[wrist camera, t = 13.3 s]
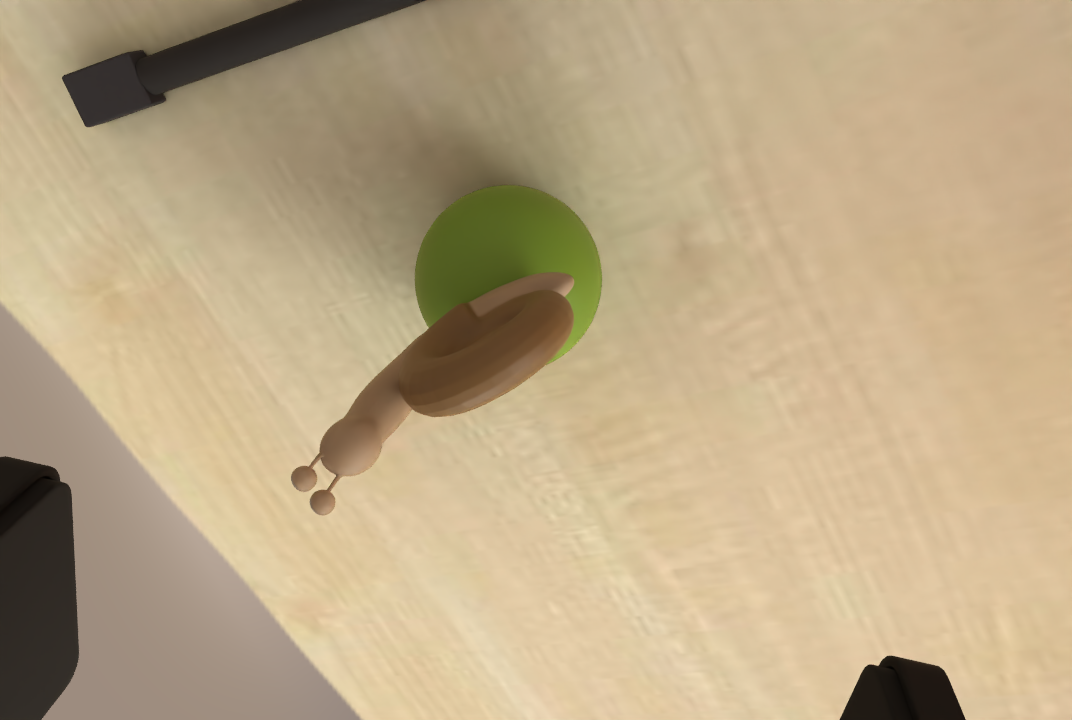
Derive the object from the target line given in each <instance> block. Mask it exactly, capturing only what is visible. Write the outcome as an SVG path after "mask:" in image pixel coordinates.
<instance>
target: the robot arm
mask: <svg viewBox="0 0 1072 720" xmlns="http://www.w3.org/2000/svg"><path fill="white" fill-rule="evenodd" d="M74 560H75V559H74V538H73V517H72V496H71V489H70V487H69V486H68V485H67V484H66V483H63V482H60V477H59V474H58V472H57V470H56V469H55V468H53V467H50V466H46V465H41V464H37V463H33V462H28V461H24V460H20V459H15V458H11V457H6V456H5V457H0V720H41V719H42V718H43V716H44V715H45V714H46V713H47V711H48V710H49V709H50V708H51V706H52V705H53V704H54V702H55V701H56V700H57V699H58V697H59V696H60V695H61V694H62V692H63V691H64V690H65V688H66V687H67V685H68V684H69V682H70V681H71V679H72V677H73V675H74V672H75V669H76V667H77V663H78V658H79V645H78V624H77V605H76V604H77V602H76V580H75V561H74ZM840 720H966V719H965V717H964V715H963V712H962V710H961V707H960V705H959V703H958V700H957V698H956V695H955V693H954V691H953V688H952V686H951V683H950V681H949V679H948V676H947V675H946V673H945V671H944V670H943V669H942V668H940V667H939V666H935V665H931V664H926V663H922V662H917V661H913V660H909V659H904V658H900V657H895V656H887V657H885V658H884V659H883V660H882V661H881V663H880V664H879V666H876V665H868V666H866V667H865V668H864V670H863V672H862V673H861V675H860V678H859V680H858V682H857V684H856V686H855V688H854V690H853V693H852V695H851V697H850V699H849V701H848V703H847V705H846V707H845V710H844V712H843V714H842V716H841V718H840Z"/></svg>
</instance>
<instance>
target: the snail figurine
mask: <svg viewBox="0 0 1072 720" xmlns="http://www.w3.org/2000/svg"><path fill="white" fill-rule="evenodd" d="M601 286H602V272H601V264H600V259H599V255H598V251H597V248H596V245H595V243H594V241H593V238H592V236H591V234H590V233H589V231H588V229H587V228H586V226H585V225H584V223H583V222H582V221H581V220H580V218H579V217H578V216H577V215H576V214H575V213H574V212H573V211H572V210H571V209H570V208H569V207H568V206H566V205H565V204H564V203H562V202H561V201H559V200H558V199H556V198H554V197H553V196H551V195H549V194H547V193H544V192H542V191H539V190H536V189H533V188H529V187H524V186H516V185H500V186H492V187H487V188H483V189H480V190H477V191H474V192H472V193H470V194H467V195H465V196H463V197H462V198H460V199H458V200H457V201H455V202H454V203H453V204H451V205H450V206H449V207H448V208H446V209H445V210H444V211H443V212H442V213H441V214H440V215H439V216H438V218H437V219H436V220H435V221H434V223H433V224H432V225H431V227H430V228H429V230H428V232H427V233H426V235H425V237H424V239H423V242H422V244H421V247H420V250H419V253H418V257H417V261H416V268H415V289H416V296H417V301H418V304H419V308H420V311H421V313H422V316H423V318H424V320H425V322H426V324H427V326H428V327H429V329H428V330H427V331H426V332H425V333H423V334H422V335H420V336H419V337H418V338H417V339H415V340H414V341H413V342H412V343H411V344H410V345H409V346H408V347H407V348H406V349H405V350H404V351H403V352H402V353H401V354H400V355H399V356H398V357H396V358H395V359H394V360H393V361H392V362H391V363H390V364H389V365H388V366H387V367H385V368H384V369H383V370H382V371H381V372H380V373H379V374H378V375H377V376H376V377H375V378H374V379H373V380H372V381H371V382H370V383H369V384H368V385H367V386H366V387H365V388H364V390H363V391H362V392H361V393H360V395H359V396H358V397H357V399H356V400H355V401H354V403H353V405H352V406H351V408H350V410H349V411H348V413H347V414H346V416H345V417H344V418H343V419H341V420H339V421H338V422H336V423H335V424H334V425H332V426H331V427H330V428H329V429H328V430H327V432H326V433H325V435H324V436H323V438H322V441H321V444H320V453H319V454H318V455H317V456H316V458H315V459H314V460H313V462H312V463H311V464H310V466H309V467H308V466H300V467H298V468H296V469H295V470H294V471H293V473H292V475H291V481H292V484H293V485H294V487H295V488H296V489H297V490H299V491H303V492H306V491H309V490H311V489H312V488H313V487H314V486H315V484H316V482H317V475H316V473H315V471H314V470H313V469H312V468H313V466H314V465H315V464H316V462H317V461H318V460H319V459H320V458H321V461H322V463H323V465H324V466H325V468H326V469H327V470H329V471H330V472H332V473H334V474H336V477H335V479H334V480H333V482H332V483H331V485H330V486H329V488H328V489H327V490H319V491H316V492H315V493H314V494H313V495H312V496H311V498H310V506H311V508H312V510H313V511H314V512H315V513H316V514H318V515H327V514H329V513H330V512H331V511H332V510H333V509H334V507H335V498H334V496H333V494H332V493H331V492H330V491H331V490H332V488H333V487H334V485H335V484H336V483H337V481H338V480H339V479H340V478H341V477H343V476H354V475H358V474H360V473H362V472H364V471H366V470H367V469H369V468H370V467H371V466H372V465H373V464H374V463H375V461H376V460H377V458H378V456H379V454H380V452H381V448H382V443H383V442H384V441H385V440H386V439H387V438H388V437H389V436H390V435H391V434H392V433H393V432H394V431H395V430H396V429H397V428H398V427H399V425H400V424H401V423H402V422H403V421H404V420H405V418H406V417H407V416H408V414H409V413H410V412H411V410H412V409H413V410H414V411H416V412H418V413H421V414H424V415H427V416H431V417H443V416H452V415H456V414H461V413H464V412H467V411H470V410H473V409H475V408H478V407H480V406H482V405H484V404H486V403H489V402H491V401H493V400H494V399H496V398H498V397H500V396H502V395H504V394H506V393H507V392H509V391H511V390H512V389H514V388H516V387H517V386H519V385H520V384H521V383H523V382H524V381H526V380H527V379H528V378H530V377H531V376H533V375H534V374H535V373H536V372H538V371H539V370H540V369H541V368H542V367H544V366H545V365H547V364H549V363H551V362H553V361H555V360H556V359H558V358H560V357H561V356H562V355H564V354H565V353H566V352H568V351H569V350H570V349H571V348H572V347H573V346H574V345H575V344H576V343H577V342H578V341H579V340H580V339H581V337H582V336H583V335H584V333H585V332H586V331H587V329H588V327H589V326H590V324H591V322H592V320H593V318H594V315H595V313H596V310H597V307H598V304H599V300H600V295H601Z"/></svg>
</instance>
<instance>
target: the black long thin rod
mask: <svg viewBox="0 0 1072 720" xmlns="http://www.w3.org/2000/svg"><path fill="white" fill-rule="evenodd" d="M422 1H425V0H300V1H298V2H295V3H292V4H289V5H287V6H284V7H281V8H278V9H276V10H273V11H270V12H267V13H265V14H262V15H259V16H256V17H254V18H251V19H248V20H245V21H243V22H240V23H237V24H234V25H232V26H229V27H226V28H223V29H221V30H218V31H215V32H212V33H210V34H207V35H204V36H201V37H199V38H196V39H193V40H190V41H188V42H185V43H182V44H179V45H177V46H174V47H171V48H168V49H166V50H163V51H160V52H157V53H155V54H152V55H149V56H146V54H145V52H144V51H143V50H140V51H133V52H127V53H124V54H121V55H118V56H116V57H113V58H110V59H107V60H105V61H102V62H99V63H97V64H94V65H91V66H88V67H86V68H83V69H80V70H77V71H75V72H72V73H69V74H67V75H64V76H63V77H62V79H63V81H64V83H65V86H66V88H67V90H68V92H69V94H70V96H71V98H72V100H73V102H74V104H75V106H76V108H77V110H78V112H79V114H80V116H81V118H82V120H83V122H84V124H85V126H86V127H92V126H96V125H99V124H103V123H106V122H109V121H112V120H114V119H117V118H120V117H123V116H126V115H129V114H132V113H135V112H137V111H140V110H143V109H146V108H149V107H152V106H155V105H157V104H160V103H163V102H165V101H166V98H165V96H164V94H163V93H164V92H166V91H169V90H172V89H175V88H178V87H181V86H183V85H186V84H189V83H192V82H195V81H198V80H201V79H203V78H206V77H209V76H212V75H215V74H218V73H220V72H223V71H226V70H229V69H232V68H235V67H238V66H240V65H243V64H246V63H249V62H252V61H255V60H257V59H260V58H263V57H266V56H269V55H272V54H274V53H277V52H280V51H283V50H286V49H289V48H292V47H294V46H297V45H300V44H303V43H306V42H309V41H311V40H314V39H317V38H320V37H323V36H326V35H329V34H331V33H334V32H337V31H340V30H343V29H346V28H348V27H351V26H354V25H357V24H360V23H363V22H366V21H368V20H371V19H374V18H377V17H380V16H383V15H385V14H388V13H391V12H394V11H397V10H400V9H403V8H405V7H408V6H411V5H414V4H417V3H420V2H422Z"/></svg>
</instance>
